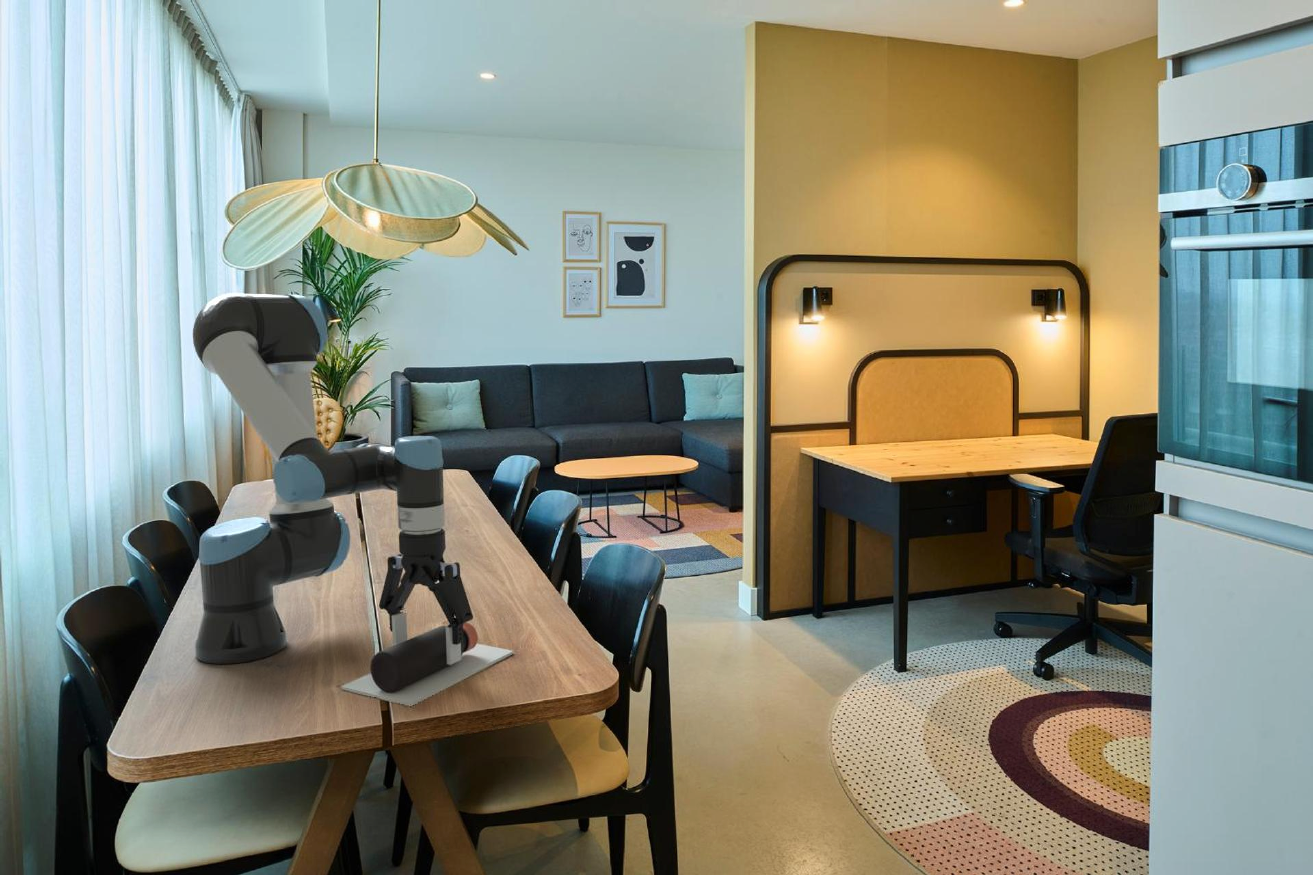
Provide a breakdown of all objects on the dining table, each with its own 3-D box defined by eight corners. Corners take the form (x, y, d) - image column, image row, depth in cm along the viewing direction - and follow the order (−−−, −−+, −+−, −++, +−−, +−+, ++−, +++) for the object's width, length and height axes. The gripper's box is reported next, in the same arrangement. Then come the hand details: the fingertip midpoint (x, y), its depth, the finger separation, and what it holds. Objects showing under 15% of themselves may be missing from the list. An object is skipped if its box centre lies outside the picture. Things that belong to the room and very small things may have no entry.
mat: (341, 689, 150) (341, 686, 150) (448, 640, 172) (448, 637, 172) (411, 706, 143) (410, 703, 143) (513, 653, 165) (513, 650, 165)
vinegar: (362, 661, 148) (446, 625, 166) (380, 699, 147) (463, 660, 165) (388, 645, 145) (471, 611, 163) (407, 684, 144) (488, 645, 162)
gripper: (353, 526, 156) (359, 651, 159) (462, 541, 145) (467, 675, 148) (385, 518, 163) (391, 638, 165) (492, 531, 151) (496, 660, 154)
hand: (426, 656), depth 156 cm, fingers open, 11 cm apart
